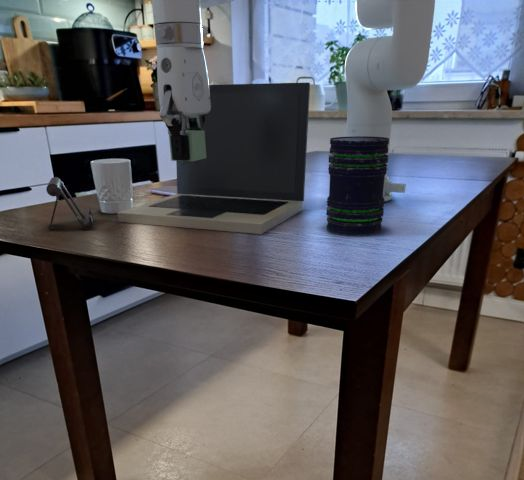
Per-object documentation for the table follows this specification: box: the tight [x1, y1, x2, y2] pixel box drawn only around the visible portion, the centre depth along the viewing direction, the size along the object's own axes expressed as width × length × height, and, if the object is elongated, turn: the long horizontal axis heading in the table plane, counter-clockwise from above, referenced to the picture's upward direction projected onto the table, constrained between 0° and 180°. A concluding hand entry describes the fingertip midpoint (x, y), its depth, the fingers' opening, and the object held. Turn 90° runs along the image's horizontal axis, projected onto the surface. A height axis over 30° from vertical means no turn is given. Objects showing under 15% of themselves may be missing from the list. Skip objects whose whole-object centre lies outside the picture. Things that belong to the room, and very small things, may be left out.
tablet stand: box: [46, 176, 94, 231], centre depth 95 cm, size 9×8×8 cm
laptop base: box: [116, 194, 303, 235], centre depth 103 cm, size 22×30×2 cm
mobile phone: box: [148, 185, 190, 197], centre depth 127 cm, size 8×1×15 cm
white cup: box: [90, 158, 134, 215], centre depth 107 cm, size 8×8×10 cm
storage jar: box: [326, 136, 389, 237], centre depth 88 cm, size 10×10×15 cm
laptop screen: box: [175, 82, 311, 202], centre depth 108 cm, size 22×30×1 cm
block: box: [168, 130, 206, 162], centre depth 91 cm, size 5×5×5 cm
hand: (188, 157), depth 91 cm, fingers closed on block, 4 cm apart
